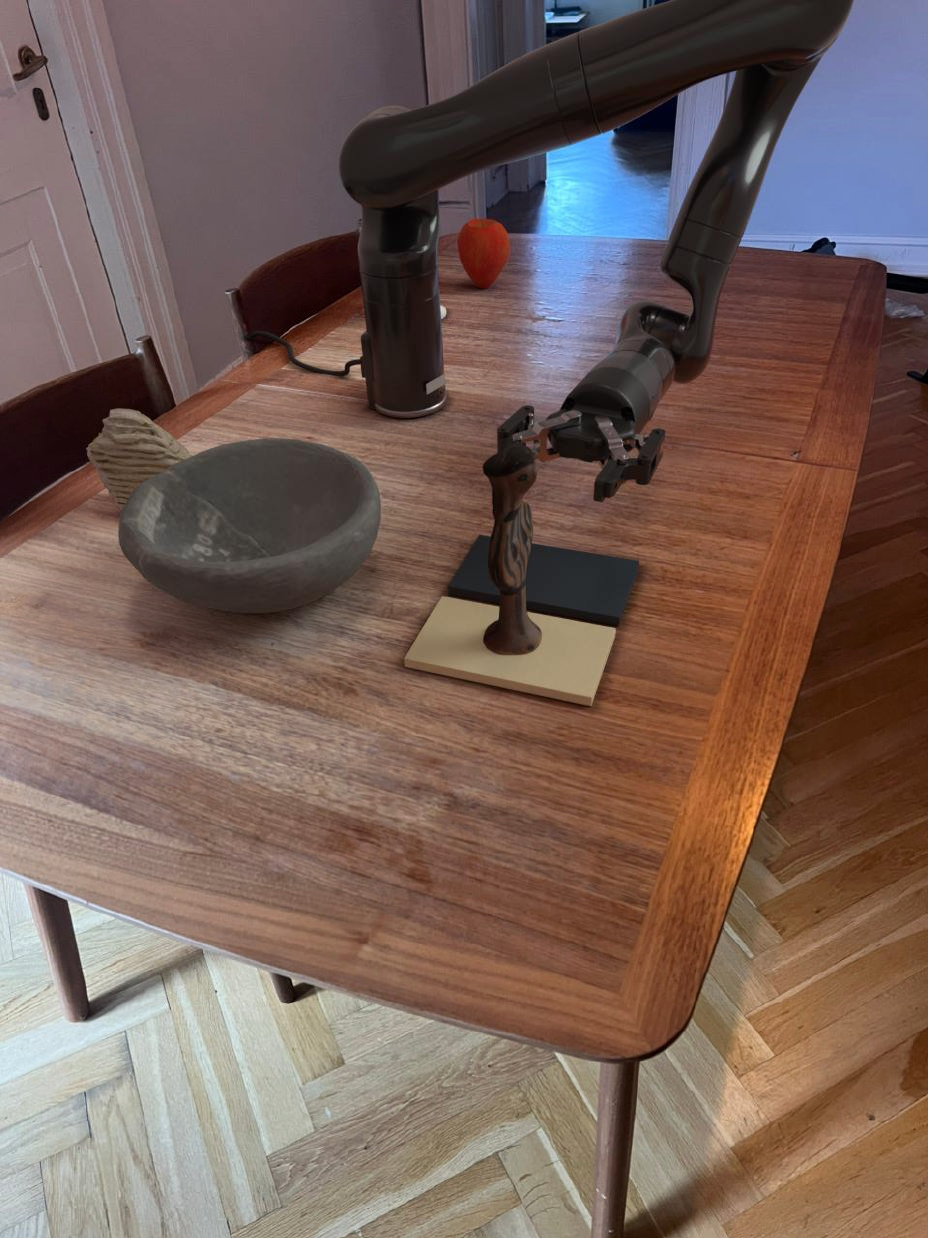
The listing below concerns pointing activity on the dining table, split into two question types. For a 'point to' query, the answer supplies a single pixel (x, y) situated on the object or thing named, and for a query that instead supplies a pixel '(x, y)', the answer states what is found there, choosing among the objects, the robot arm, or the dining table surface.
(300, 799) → the dining table surface
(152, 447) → the fossil tooth
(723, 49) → the robot arm
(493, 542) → the figurine
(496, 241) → the apple
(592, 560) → the dark mat
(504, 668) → the cream mat
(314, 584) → the bowl
